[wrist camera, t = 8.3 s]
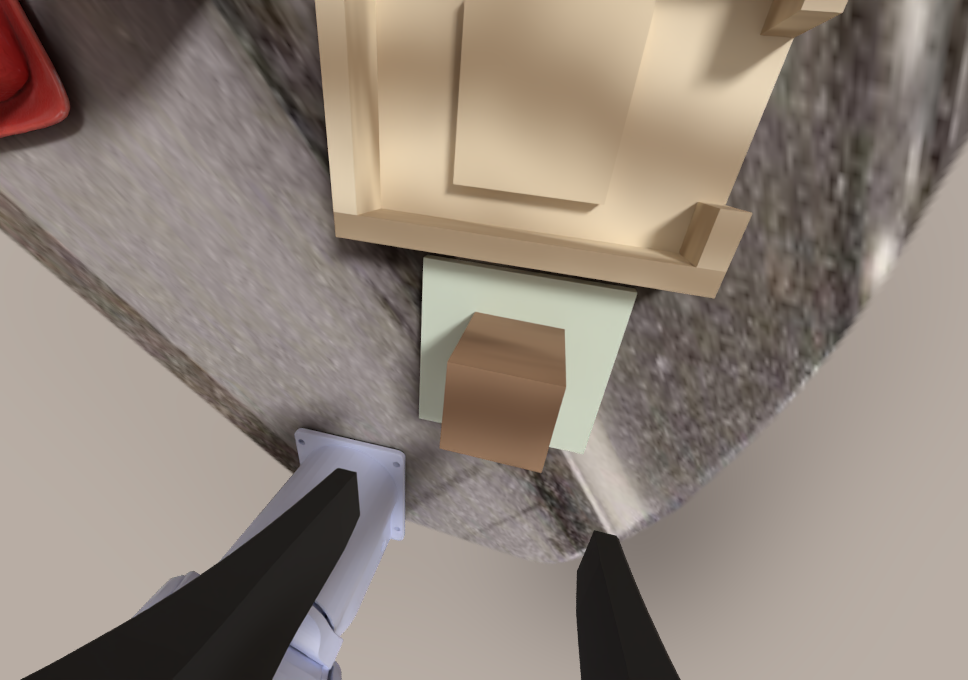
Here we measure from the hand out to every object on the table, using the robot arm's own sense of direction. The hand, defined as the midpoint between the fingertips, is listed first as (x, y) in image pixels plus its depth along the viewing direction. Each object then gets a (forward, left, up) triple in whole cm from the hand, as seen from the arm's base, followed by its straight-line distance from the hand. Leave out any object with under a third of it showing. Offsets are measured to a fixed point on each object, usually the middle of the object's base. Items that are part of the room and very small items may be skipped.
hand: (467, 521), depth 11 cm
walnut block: (0, 0, -9) cm, 9 cm away
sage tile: (0, 0, -10) cm, 10 cm away
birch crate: (+12, 0, -10) cm, 15 cm away
